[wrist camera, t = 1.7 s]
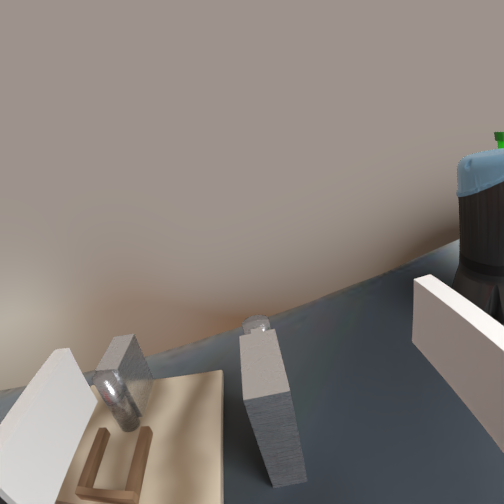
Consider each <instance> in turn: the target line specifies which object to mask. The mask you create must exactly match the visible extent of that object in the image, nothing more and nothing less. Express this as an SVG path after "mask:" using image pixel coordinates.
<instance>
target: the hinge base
mask: <svg viewBox="0 0 504 504" xmlns="http://www.w3.org/2000/svg"><path fill="white" fill-rule="evenodd" d="M90 389H91V390H92V392H93V394H94V396H95V397H96V399H97V401H98V402H97V404H96V406H95V408H94V411H93V413H92V415H91V417H90V419H89V422H88V424H87V426H86V428H85V431H84V433H83V435H82V437H81V440H80V442H79V444H78V447H77V449H76V451H75V454H74V456H73V458H72V461H71V463H70V466H69V468H68V471H67V473H66V476H65V478H64V481H63V483H62V486H61V488H60V491H59V493H58V496H57V499H56V501H55V504H224V500H223V394H224V375H223V372H222V370H217V371H211V372H205V373H198V374H192V375H185V376H178V377H170V378H163V379H154V382H153V386H152V389H151V393H150V396H149V400H148V403H147V407H146V410H145V414H144V417H138V418H139V420H140V426H139V427H138V428H137V429H136V430H134V431H132V432H124V431H122V430H121V428H120V427H119V425H118V423H117V422H116V420H115V419H114V417H113V415H112V414H111V412H110V411H109V409H108V407H107V406H106V404H105V402H104V401H103V399H102V397H101V396H100V394H99V392H98V390H97V389H96V387H95V385H91V387H90Z"/></svg>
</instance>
